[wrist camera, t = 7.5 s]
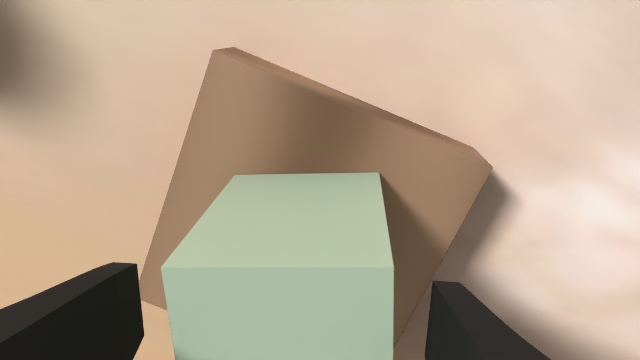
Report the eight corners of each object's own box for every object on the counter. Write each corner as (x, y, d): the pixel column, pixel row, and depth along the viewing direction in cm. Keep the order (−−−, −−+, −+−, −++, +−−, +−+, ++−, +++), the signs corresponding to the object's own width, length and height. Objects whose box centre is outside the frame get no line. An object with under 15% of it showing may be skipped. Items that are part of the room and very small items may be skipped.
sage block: (379, 172, 15) (393, 267, 9) (379, 300, 16) (392, 453, 10) (234, 174, 15) (160, 267, 9) (247, 300, 16) (189, 447, 11)
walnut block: (470, 144, 17) (492, 167, 14) (369, 337, 20) (371, 389, 17) (237, 46, 17) (212, 50, 14) (166, 258, 20) (134, 297, 17)
